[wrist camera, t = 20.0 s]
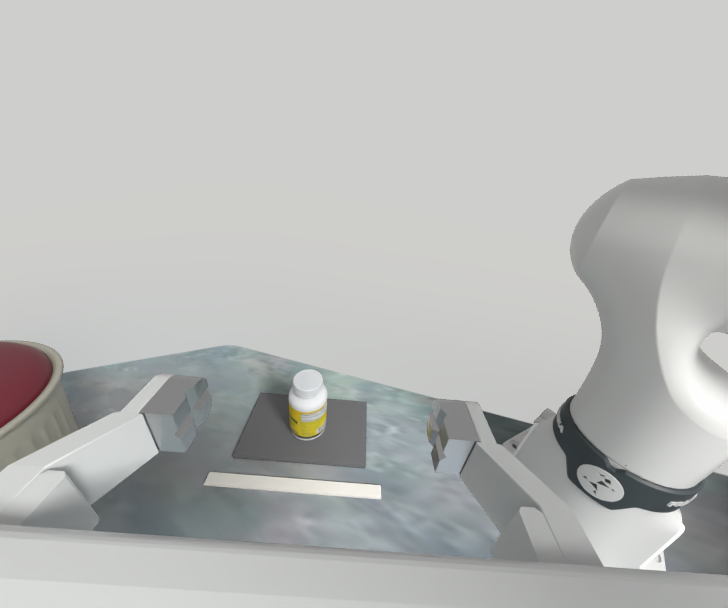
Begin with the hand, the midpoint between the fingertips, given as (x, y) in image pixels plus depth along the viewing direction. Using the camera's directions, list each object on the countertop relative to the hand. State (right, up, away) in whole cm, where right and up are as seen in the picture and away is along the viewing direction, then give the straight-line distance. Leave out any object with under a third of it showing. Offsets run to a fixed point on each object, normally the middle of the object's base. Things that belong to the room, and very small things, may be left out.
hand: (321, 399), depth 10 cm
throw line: (-7, -20, +25) cm, 33 cm away
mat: (-7, -16, +32) cm, 37 cm away
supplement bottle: (-7, -15, +32) cm, 36 cm away
